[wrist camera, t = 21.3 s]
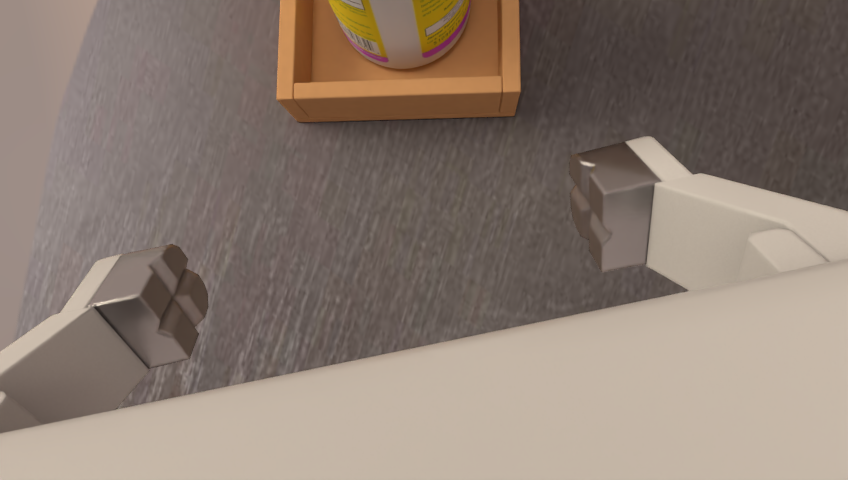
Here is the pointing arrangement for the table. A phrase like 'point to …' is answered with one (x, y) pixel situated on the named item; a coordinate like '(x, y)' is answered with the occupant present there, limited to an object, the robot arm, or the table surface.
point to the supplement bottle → (402, 29)
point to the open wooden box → (397, 88)
